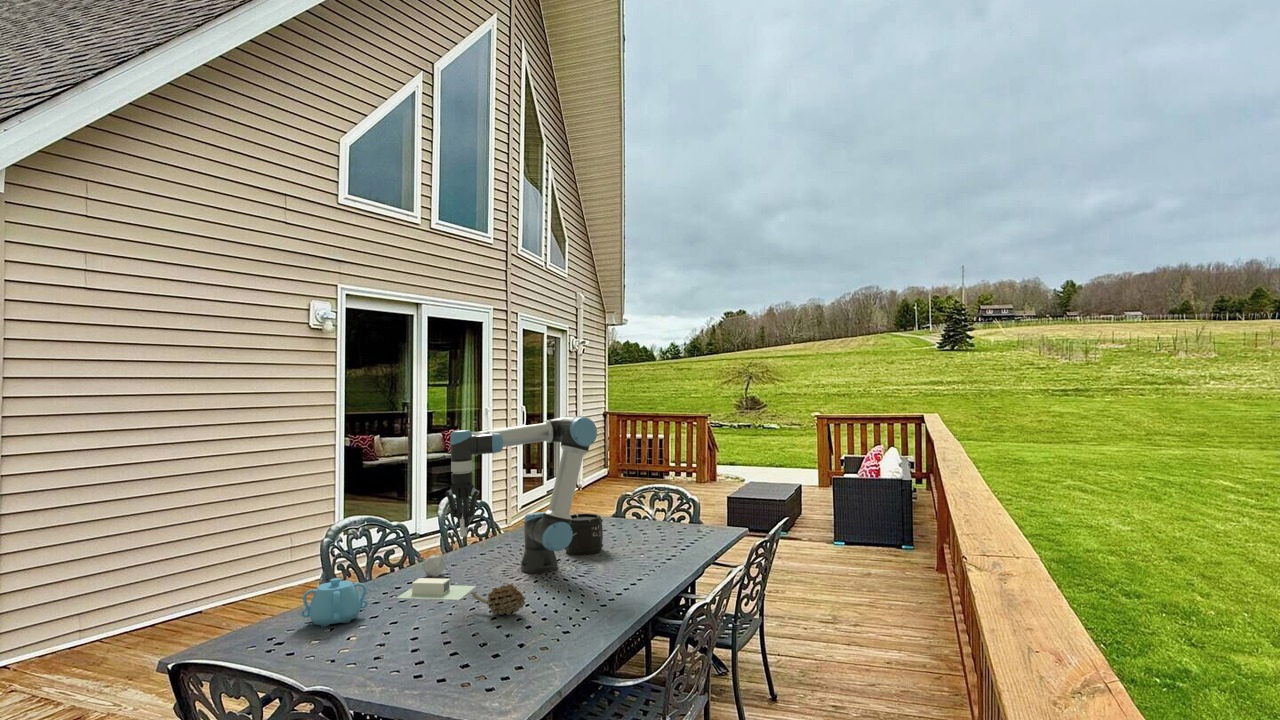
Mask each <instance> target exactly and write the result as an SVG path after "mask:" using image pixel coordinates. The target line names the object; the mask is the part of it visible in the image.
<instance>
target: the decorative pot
mask: <svg viewBox="0 0 1280 720" xmlns="http://www.w3.org/2000/svg"><path fill="white" fill-rule="evenodd" d="M356 587H362V588H363V589H362V595H361V597H360V594H359V592H358V590H357V588H356ZM312 593H314V594H313V596H312V598H311V601H310V605H309V604H308V600H307V599H308V598H307V596H308V595H310V594H312ZM366 594H367V586H366V584H365V583H364V582H363V583H362V582H355V583H353V582H352V581H351V580H341V578H340V577H334V578H331V579H329V582H325V583H321V584H319V585H318V586H317V588H312V589H308V590H307V591H306V592H304V594H303V596H302V602H303V604H304V606H305V608H304V609H303V610H302V611H301V612H300V613H301V614H300V615H301V616H302V617H303V618H310V620H311V621H312V623H313V624H314V625H318V626H319V625H320V627H322V628H325V627H329V626H330V625H334V624H335V625H336V624H339V623H342V624H349V623H351V622H352V620H354V619H356V618H357V617H358V616H359V614H360V611H362V609H366V608H367V607H368V605H369V602H368V600H366V599H365V597H366ZM363 603H364V604H363ZM305 612H307V613H305Z"/></svg>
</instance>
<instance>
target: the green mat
mask: <svg viewBox="0 0 1280 720" xmlns="http://www.w3.org/2000/svg"><path fill="white" fill-rule="evenodd" d="M476 587H477V585H453V584H452V585H451V584H450V590H449V591H447V592H446V593H445V594H443V595H439V594H412V587H411V588H409V589H407V591H405V592H403V593H402V594H400V595H398V596H396V598H395V599H397V600H398V599H416V600H417V599H418V600H419V599H420V600H455V601H457V600H461V599H463V598H464V597H465V596H466V595H467V594H468V593H470V592H471V591H473V590H474V589H475V588H476Z"/></svg>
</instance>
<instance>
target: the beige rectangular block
mask: <svg viewBox="0 0 1280 720" xmlns="http://www.w3.org/2000/svg"><path fill="white" fill-rule="evenodd" d="M450 585H451V579H450V578H437V577H431V578H429V577H428V578H427V577H424V578H421V577H419V578H417V579H416V580H415V581H413V582H412V584H411V588H412V594H439V595H443V594H445V593H446V592H447V591H449V590H450Z"/></svg>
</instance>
